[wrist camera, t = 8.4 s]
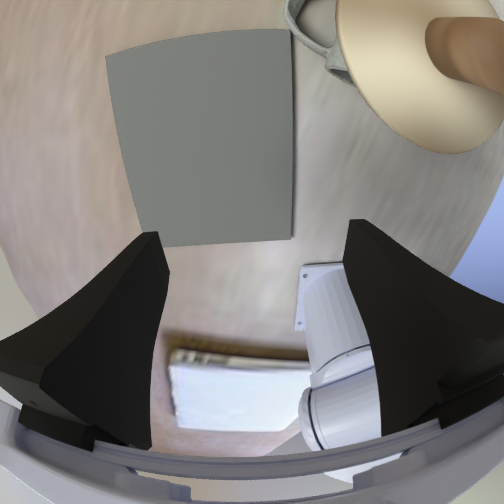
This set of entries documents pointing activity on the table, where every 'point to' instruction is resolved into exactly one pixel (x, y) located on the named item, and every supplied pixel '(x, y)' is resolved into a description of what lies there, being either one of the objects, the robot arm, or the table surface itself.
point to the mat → (208, 135)
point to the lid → (427, 67)
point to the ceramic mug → (332, 54)
